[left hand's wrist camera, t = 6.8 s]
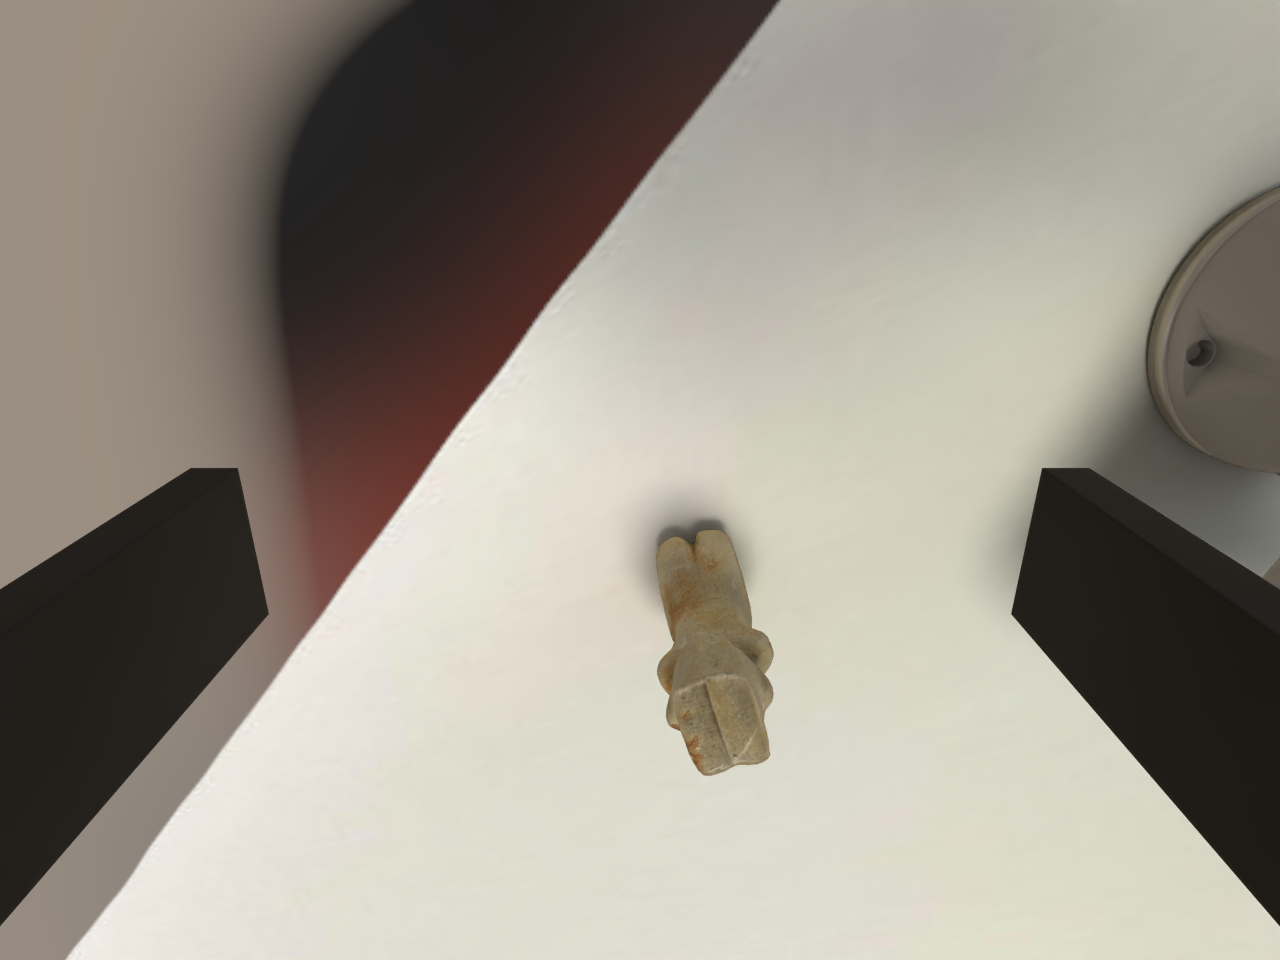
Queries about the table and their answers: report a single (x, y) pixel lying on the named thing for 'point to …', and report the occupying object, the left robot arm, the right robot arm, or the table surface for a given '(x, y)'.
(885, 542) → the table surface
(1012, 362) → the table surface
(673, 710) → the sculpture
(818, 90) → the table surface
